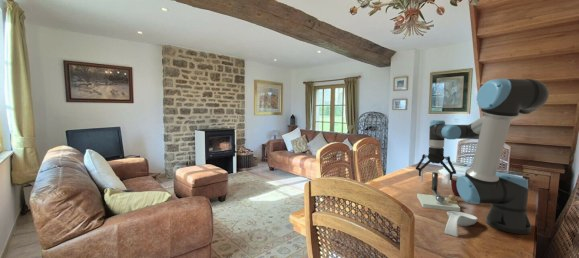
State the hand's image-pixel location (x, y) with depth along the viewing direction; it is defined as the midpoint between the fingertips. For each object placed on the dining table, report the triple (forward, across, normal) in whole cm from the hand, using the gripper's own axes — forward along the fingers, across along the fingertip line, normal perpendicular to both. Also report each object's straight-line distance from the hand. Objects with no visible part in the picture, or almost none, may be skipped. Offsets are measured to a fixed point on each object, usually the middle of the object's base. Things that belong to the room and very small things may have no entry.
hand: (434, 183), depth 146 cm
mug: (+10, -13, -17) cm, 23 cm away
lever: (+5, -2, +7) cm, 9 cm away
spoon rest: (+10, -12, +35) cm, 38 cm away
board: (+9, -2, +7) cm, 12 cm away
